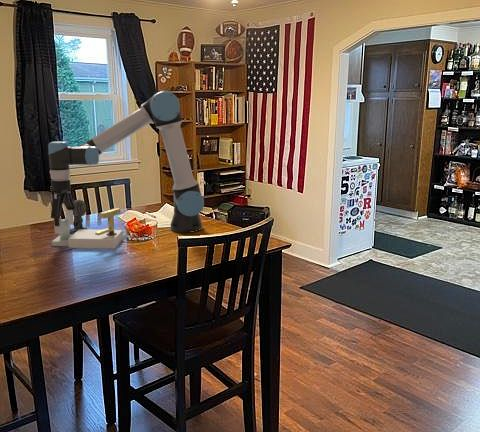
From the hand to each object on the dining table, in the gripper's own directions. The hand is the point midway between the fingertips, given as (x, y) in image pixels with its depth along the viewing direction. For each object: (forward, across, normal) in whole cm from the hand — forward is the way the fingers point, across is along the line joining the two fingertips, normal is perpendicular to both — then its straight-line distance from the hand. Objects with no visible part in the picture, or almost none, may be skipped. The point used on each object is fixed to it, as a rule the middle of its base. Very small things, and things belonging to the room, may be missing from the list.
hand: (64, 228), depth 200 cm
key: (+2, +2, +19) cm, 19 cm away
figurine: (+6, -17, 0) cm, 18 cm away
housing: (+6, 0, +13) cm, 15 cm away
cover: (+6, 0, 0) cm, 6 cm away
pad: (+6, 0, 0) cm, 6 cm away
